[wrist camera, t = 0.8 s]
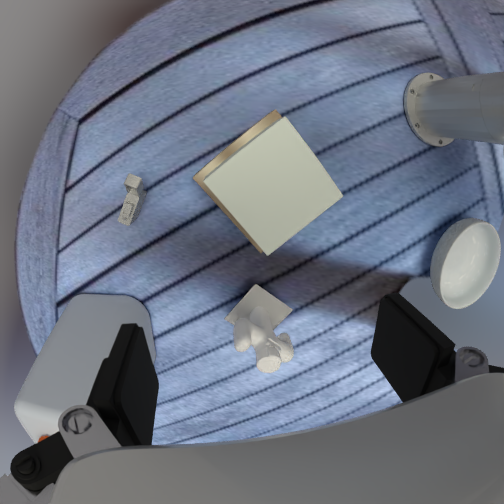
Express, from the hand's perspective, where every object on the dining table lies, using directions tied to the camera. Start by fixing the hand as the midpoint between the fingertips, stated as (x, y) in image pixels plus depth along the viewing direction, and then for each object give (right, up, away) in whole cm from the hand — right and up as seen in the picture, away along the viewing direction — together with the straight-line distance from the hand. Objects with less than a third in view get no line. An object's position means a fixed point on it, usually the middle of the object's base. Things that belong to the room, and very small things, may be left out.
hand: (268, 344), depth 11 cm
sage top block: (+2, +12, +26) cm, 28 cm away
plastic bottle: (-24, -10, +36) cm, 45 cm away
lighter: (-16, +12, +29) cm, 35 cm away
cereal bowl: (+37, +3, +38) cm, 53 cm away
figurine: (0, -4, +37) cm, 37 cm away
